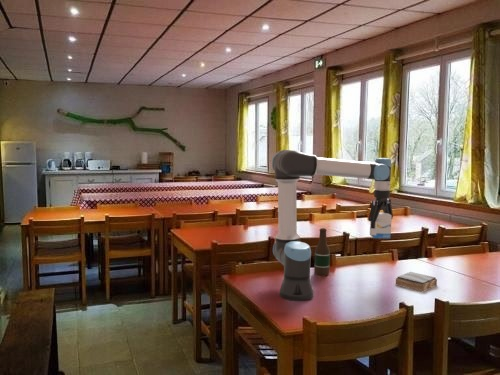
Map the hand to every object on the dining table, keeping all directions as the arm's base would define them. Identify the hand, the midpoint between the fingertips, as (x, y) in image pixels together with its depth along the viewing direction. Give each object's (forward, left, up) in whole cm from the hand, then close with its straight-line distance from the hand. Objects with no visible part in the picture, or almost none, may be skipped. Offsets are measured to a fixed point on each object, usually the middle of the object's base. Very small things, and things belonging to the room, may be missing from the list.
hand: (380, 233), depth 231 cm
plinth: (+8, -16, -24) cm, 30 cm away
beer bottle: (-12, +26, -24) cm, 38 cm away
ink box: (0, 0, -2) cm, 2 cm away
